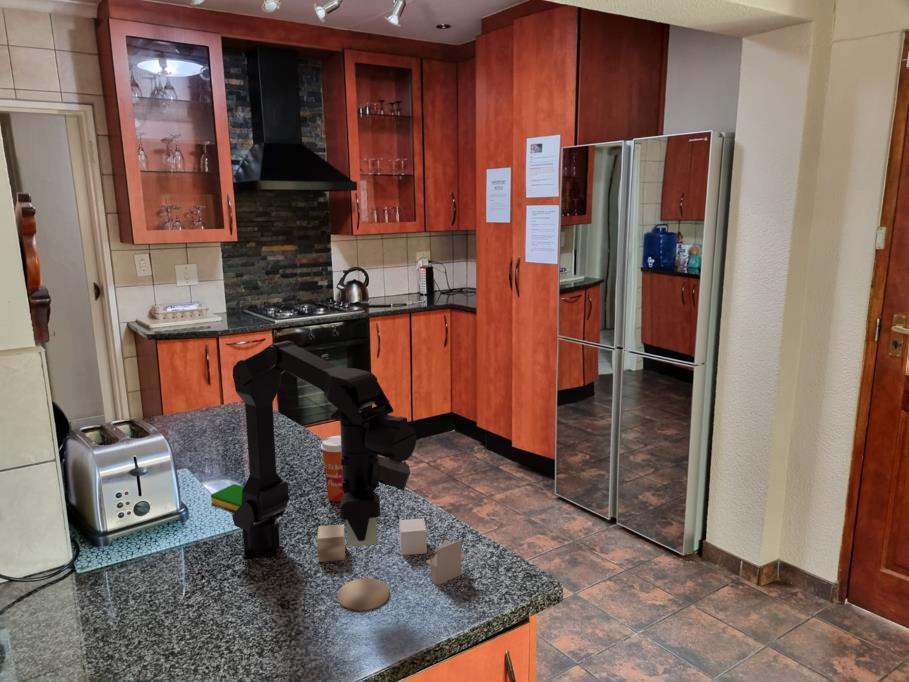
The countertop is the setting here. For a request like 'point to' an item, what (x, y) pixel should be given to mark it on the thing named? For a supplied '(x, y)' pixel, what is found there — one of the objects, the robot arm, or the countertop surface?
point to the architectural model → (446, 562)
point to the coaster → (363, 594)
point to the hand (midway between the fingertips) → (361, 532)
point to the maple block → (331, 543)
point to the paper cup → (333, 467)
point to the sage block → (370, 535)
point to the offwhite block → (412, 536)
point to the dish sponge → (228, 497)
